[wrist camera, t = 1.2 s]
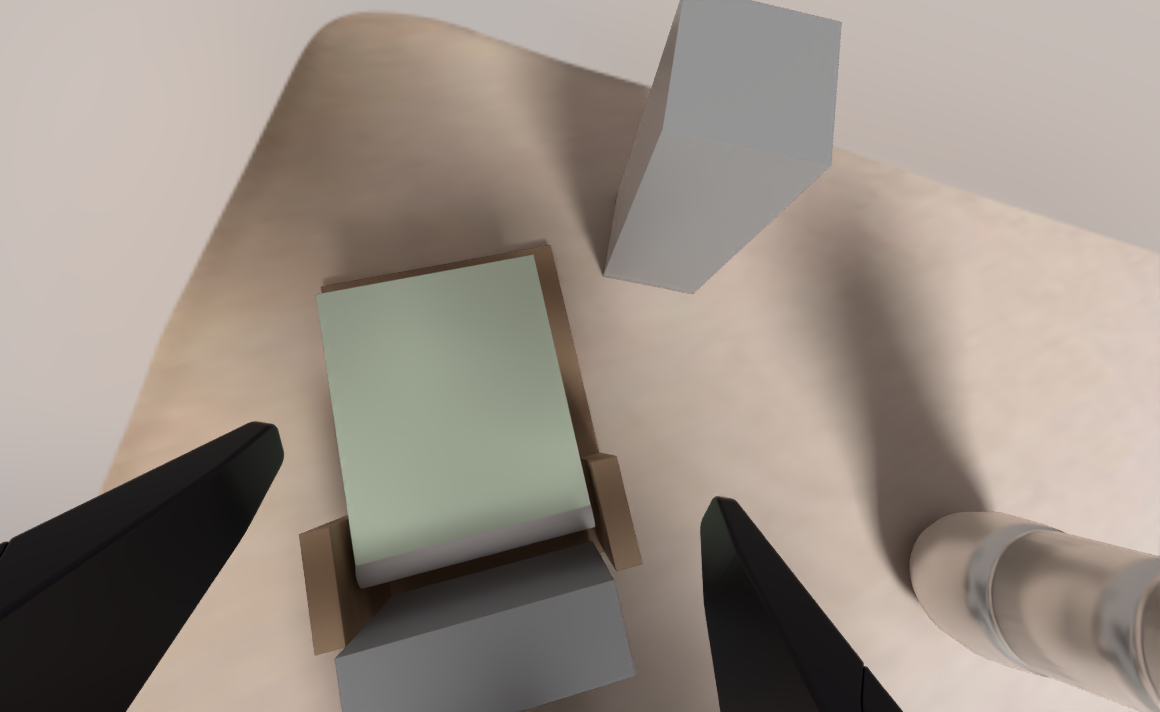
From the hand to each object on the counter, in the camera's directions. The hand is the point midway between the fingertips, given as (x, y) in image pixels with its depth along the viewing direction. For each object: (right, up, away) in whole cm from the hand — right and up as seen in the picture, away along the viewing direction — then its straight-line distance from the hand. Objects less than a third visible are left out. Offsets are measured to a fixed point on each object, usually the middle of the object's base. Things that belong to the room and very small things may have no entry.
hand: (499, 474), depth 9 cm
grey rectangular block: (+6, +9, +16) cm, 19 cm away
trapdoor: (-3, -2, +12) cm, 13 cm away
